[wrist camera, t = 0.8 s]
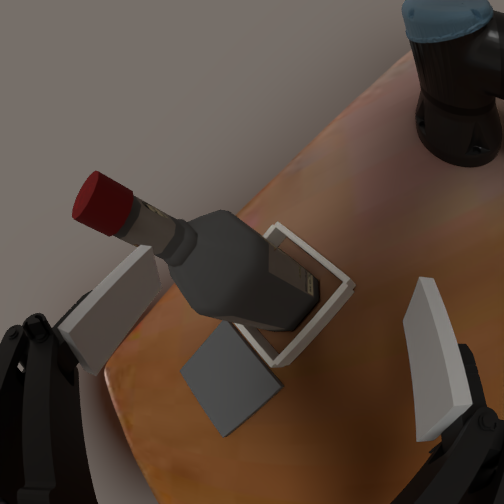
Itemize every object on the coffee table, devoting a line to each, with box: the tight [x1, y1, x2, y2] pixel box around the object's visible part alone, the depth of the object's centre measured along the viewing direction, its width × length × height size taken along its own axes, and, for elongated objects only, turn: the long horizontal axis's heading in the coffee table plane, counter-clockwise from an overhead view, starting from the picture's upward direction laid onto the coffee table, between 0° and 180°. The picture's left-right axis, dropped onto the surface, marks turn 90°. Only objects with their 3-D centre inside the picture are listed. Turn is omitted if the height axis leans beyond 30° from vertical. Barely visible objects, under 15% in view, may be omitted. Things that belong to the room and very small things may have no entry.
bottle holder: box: [235, 221, 356, 368], centre depth 38 cm, size 15×15×4 cm
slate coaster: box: [180, 320, 284, 438], centre depth 39 cm, size 13×14×1 cm
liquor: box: [72, 171, 319, 332], centre depth 28 cm, size 9×9×30 cm
